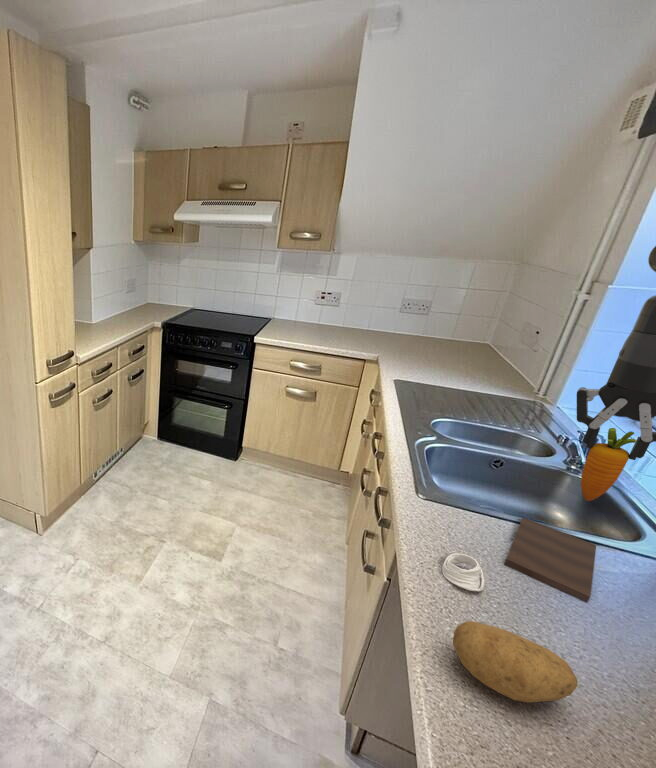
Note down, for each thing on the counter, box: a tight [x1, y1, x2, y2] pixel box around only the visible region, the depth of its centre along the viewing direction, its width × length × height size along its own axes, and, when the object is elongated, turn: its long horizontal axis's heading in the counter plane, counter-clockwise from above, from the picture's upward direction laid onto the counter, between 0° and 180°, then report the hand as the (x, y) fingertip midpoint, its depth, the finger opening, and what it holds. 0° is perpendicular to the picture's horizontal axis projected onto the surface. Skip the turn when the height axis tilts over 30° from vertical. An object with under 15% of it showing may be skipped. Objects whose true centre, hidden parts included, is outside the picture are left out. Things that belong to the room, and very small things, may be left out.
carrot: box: [580, 427, 637, 502], centre depth 74 cm, size 5×5×15 cm
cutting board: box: [503, 516, 597, 603], centre depth 85 cm, size 20×12×2 cm, turn 132°
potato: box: [452, 620, 579, 703], centre depth 60 cm, size 10×14×8 cm
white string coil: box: [441, 552, 485, 592], centre depth 79 cm, size 8×7×5 cm
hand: (609, 451), depth 73 cm, fingers closed on carrot, 4 cm apart
